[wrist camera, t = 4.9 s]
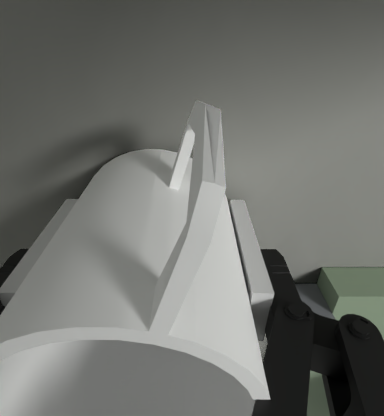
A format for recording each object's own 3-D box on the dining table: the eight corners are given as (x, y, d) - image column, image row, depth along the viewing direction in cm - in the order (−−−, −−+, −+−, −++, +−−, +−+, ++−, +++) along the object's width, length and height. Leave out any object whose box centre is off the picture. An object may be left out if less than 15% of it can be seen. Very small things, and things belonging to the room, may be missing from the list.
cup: (287, 104, 13) (471, 240, 4) (201, 282, 19) (210, 485, 10) (108, 39, 12) (-115, 57, 3) (76, 252, 18) (-31, 459, 9)
